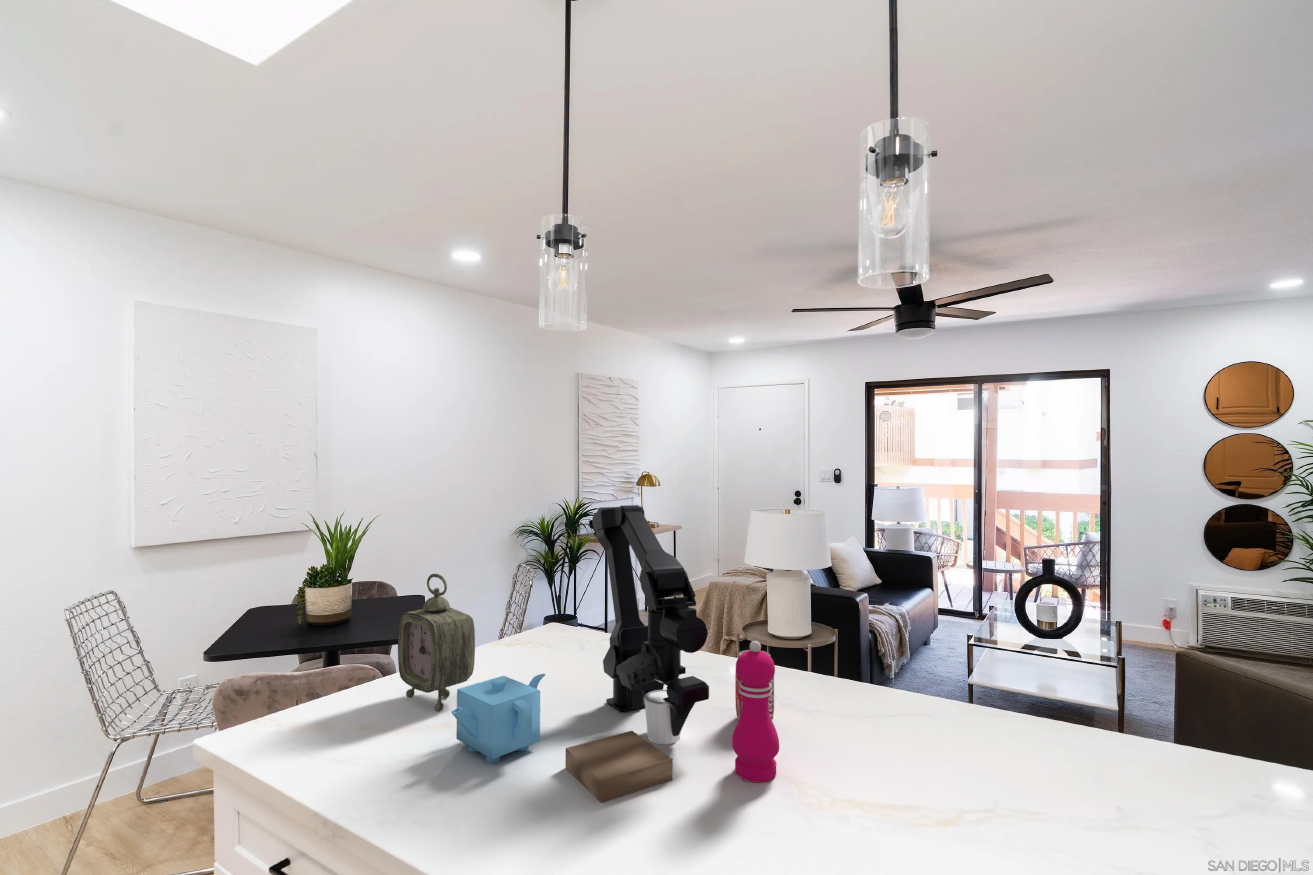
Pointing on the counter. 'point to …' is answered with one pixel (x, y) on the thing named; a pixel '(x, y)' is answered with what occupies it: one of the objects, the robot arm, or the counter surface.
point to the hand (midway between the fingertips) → (664, 727)
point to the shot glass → (659, 718)
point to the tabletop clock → (435, 646)
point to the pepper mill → (755, 718)
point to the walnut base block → (618, 765)
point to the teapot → (498, 716)
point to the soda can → (739, 695)
